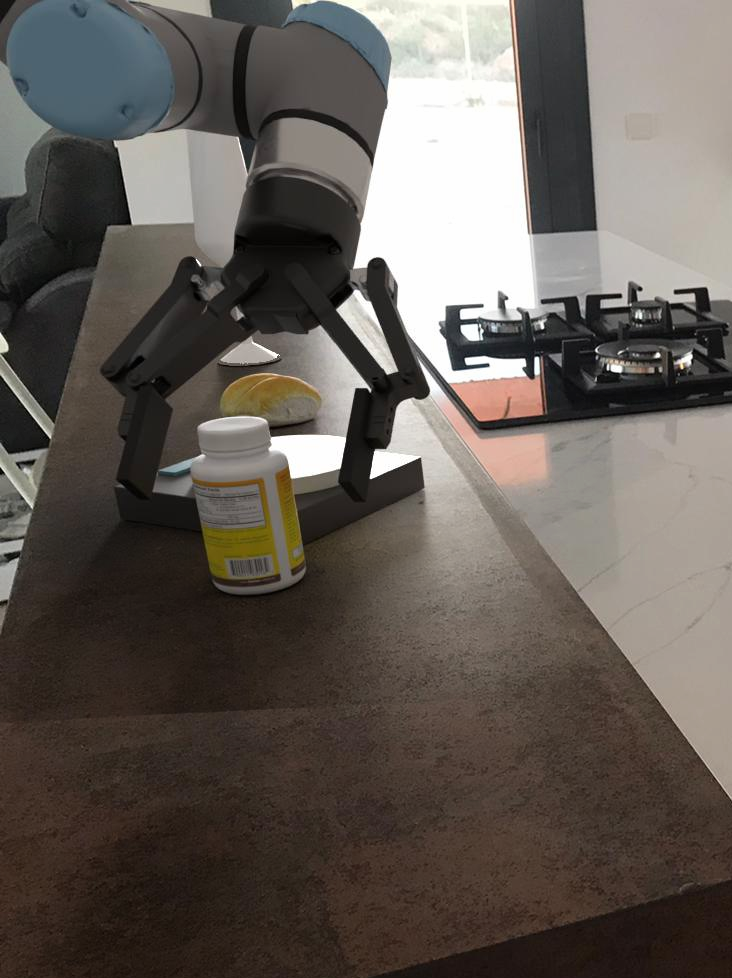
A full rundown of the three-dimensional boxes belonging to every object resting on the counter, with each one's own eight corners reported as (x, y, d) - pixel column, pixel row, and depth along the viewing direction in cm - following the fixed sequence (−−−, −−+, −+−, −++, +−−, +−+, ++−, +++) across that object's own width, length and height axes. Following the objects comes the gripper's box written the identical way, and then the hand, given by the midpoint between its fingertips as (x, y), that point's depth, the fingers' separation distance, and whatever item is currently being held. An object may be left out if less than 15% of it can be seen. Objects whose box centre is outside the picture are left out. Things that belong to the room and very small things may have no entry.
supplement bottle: (277, 559, 84) (251, 407, 80) (324, 579, 81) (300, 421, 77) (195, 584, 80) (164, 425, 76) (242, 605, 77) (212, 441, 73)
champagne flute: (252, 351, 145) (214, 127, 136) (295, 357, 143) (260, 128, 133) (203, 363, 140) (160, 129, 131) (247, 369, 137) (207, 131, 128)
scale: (120, 519, 92) (109, 470, 90) (259, 466, 104) (252, 422, 102) (300, 547, 87) (292, 494, 85) (425, 487, 99) (419, 441, 97)
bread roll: (285, 401, 124) (279, 360, 122) (337, 416, 119) (331, 373, 117) (203, 418, 118) (195, 375, 117) (253, 434, 113) (245, 390, 111)
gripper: (501, 244, 89) (461, 520, 81) (151, 244, 90) (77, 515, 82) (472, 170, 82) (425, 463, 74) (92, 170, 83) (5, 459, 75)
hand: (242, 491), depth 78 cm, fingers open, 13 cm apart
